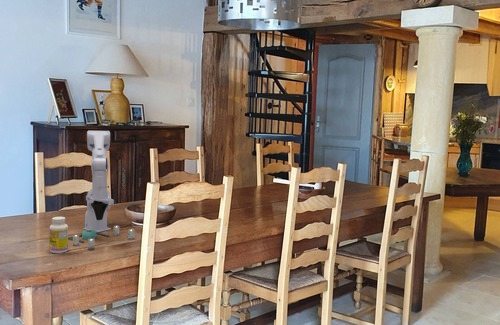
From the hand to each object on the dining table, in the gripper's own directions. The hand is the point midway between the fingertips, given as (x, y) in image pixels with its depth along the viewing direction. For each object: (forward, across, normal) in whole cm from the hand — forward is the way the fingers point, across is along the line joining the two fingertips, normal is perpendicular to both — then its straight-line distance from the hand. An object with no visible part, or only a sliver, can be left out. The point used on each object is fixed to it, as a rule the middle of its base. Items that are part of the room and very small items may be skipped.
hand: (99, 219), depth 218 cm
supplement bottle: (+9, +1, -20) cm, 22 cm away
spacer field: (+9, +3, 0) cm, 9 cm away
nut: (+9, -6, 0) cm, 11 cm away
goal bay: (+9, -6, 0) cm, 11 cm away
